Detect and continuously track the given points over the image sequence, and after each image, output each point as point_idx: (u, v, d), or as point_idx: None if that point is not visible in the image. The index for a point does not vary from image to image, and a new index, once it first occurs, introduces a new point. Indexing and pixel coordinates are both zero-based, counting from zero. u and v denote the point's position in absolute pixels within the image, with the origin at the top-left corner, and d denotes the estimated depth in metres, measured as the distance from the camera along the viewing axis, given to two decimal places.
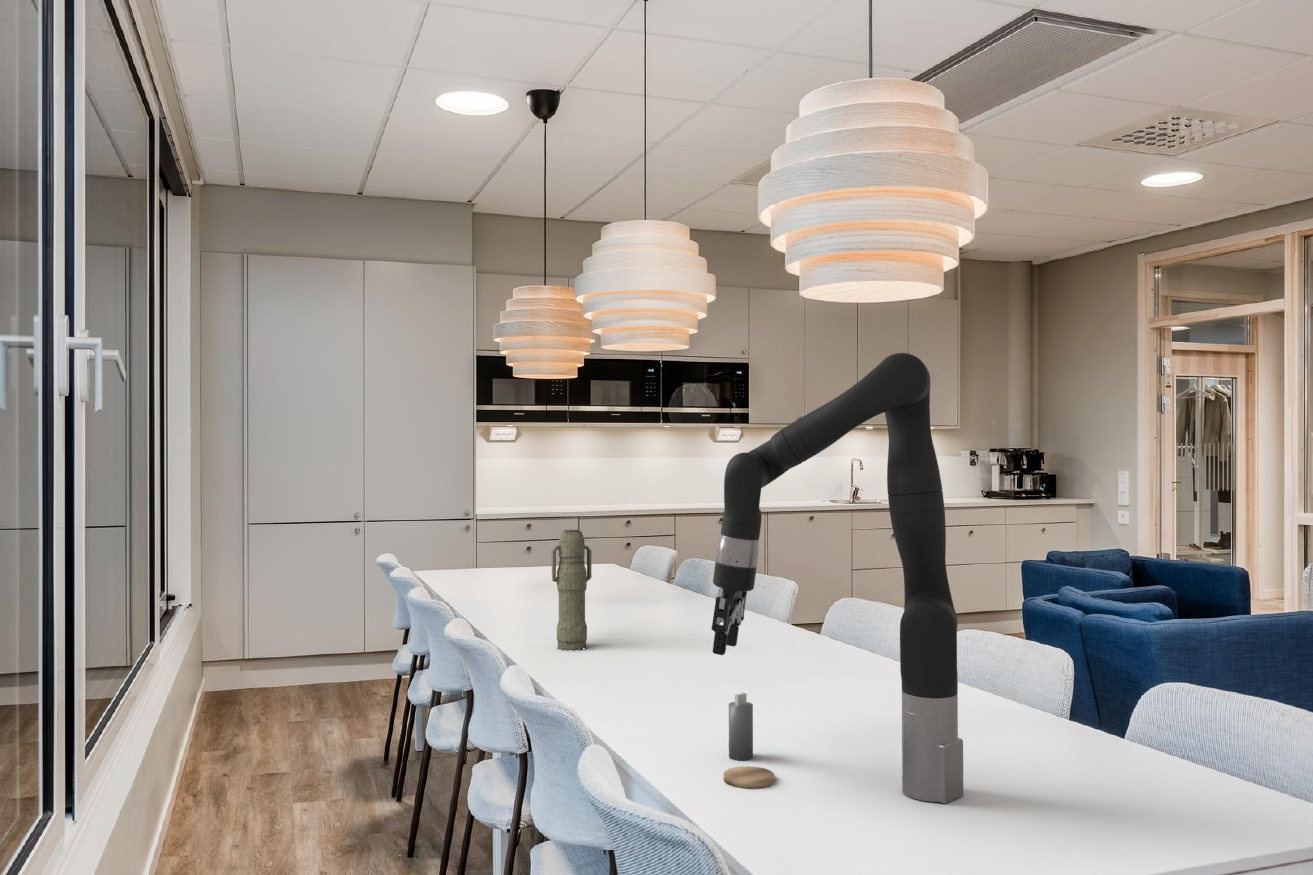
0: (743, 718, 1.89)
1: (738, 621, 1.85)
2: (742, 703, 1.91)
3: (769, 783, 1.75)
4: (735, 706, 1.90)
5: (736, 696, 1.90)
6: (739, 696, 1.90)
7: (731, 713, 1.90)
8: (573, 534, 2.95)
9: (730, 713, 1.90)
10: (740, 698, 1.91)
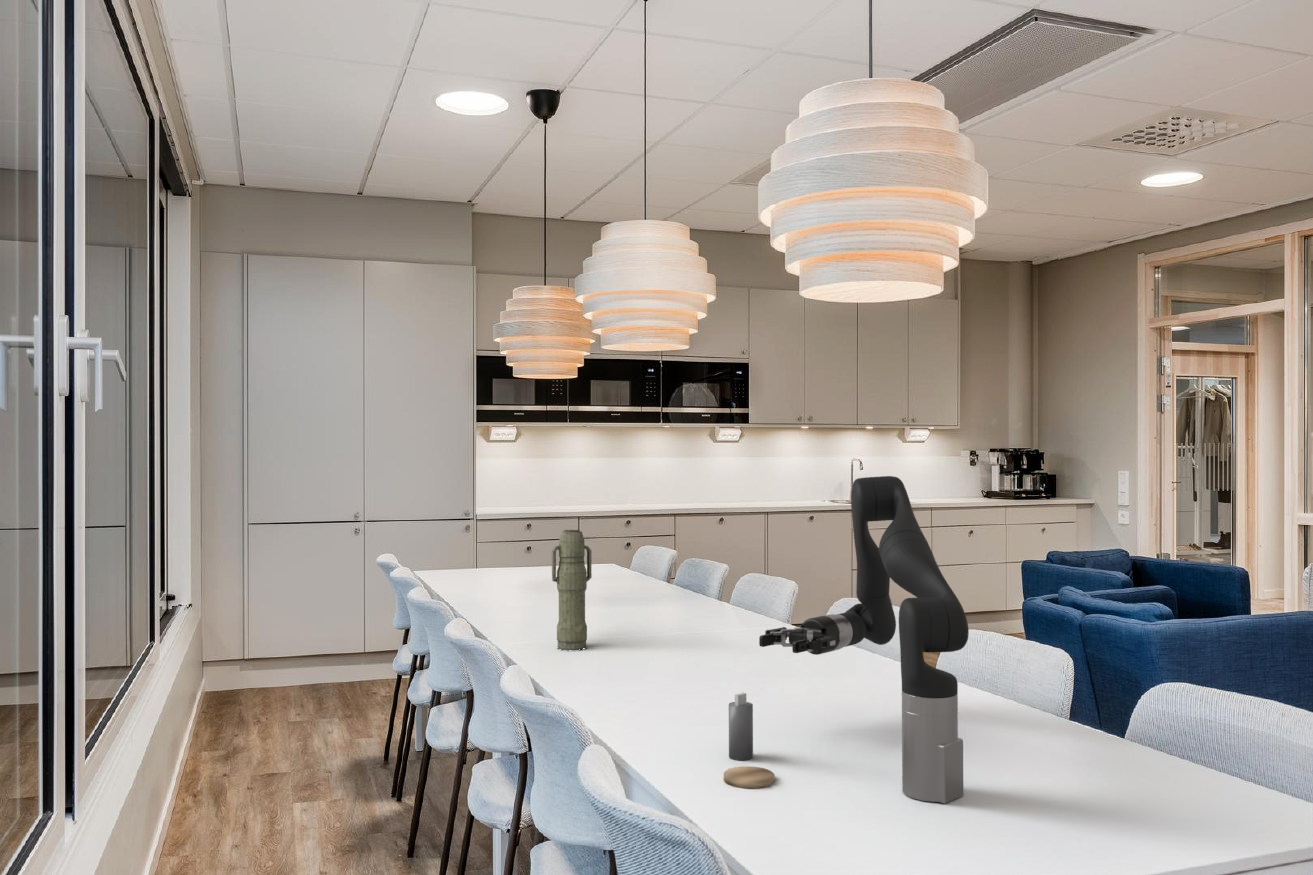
0: (743, 718, 1.89)
1: (807, 638, 1.99)
2: (742, 703, 1.91)
3: (769, 783, 1.75)
4: (735, 706, 1.90)
5: (736, 696, 1.90)
6: (739, 696, 1.90)
7: (731, 713, 1.90)
8: (573, 534, 2.95)
9: (730, 713, 1.90)
10: (740, 698, 1.91)
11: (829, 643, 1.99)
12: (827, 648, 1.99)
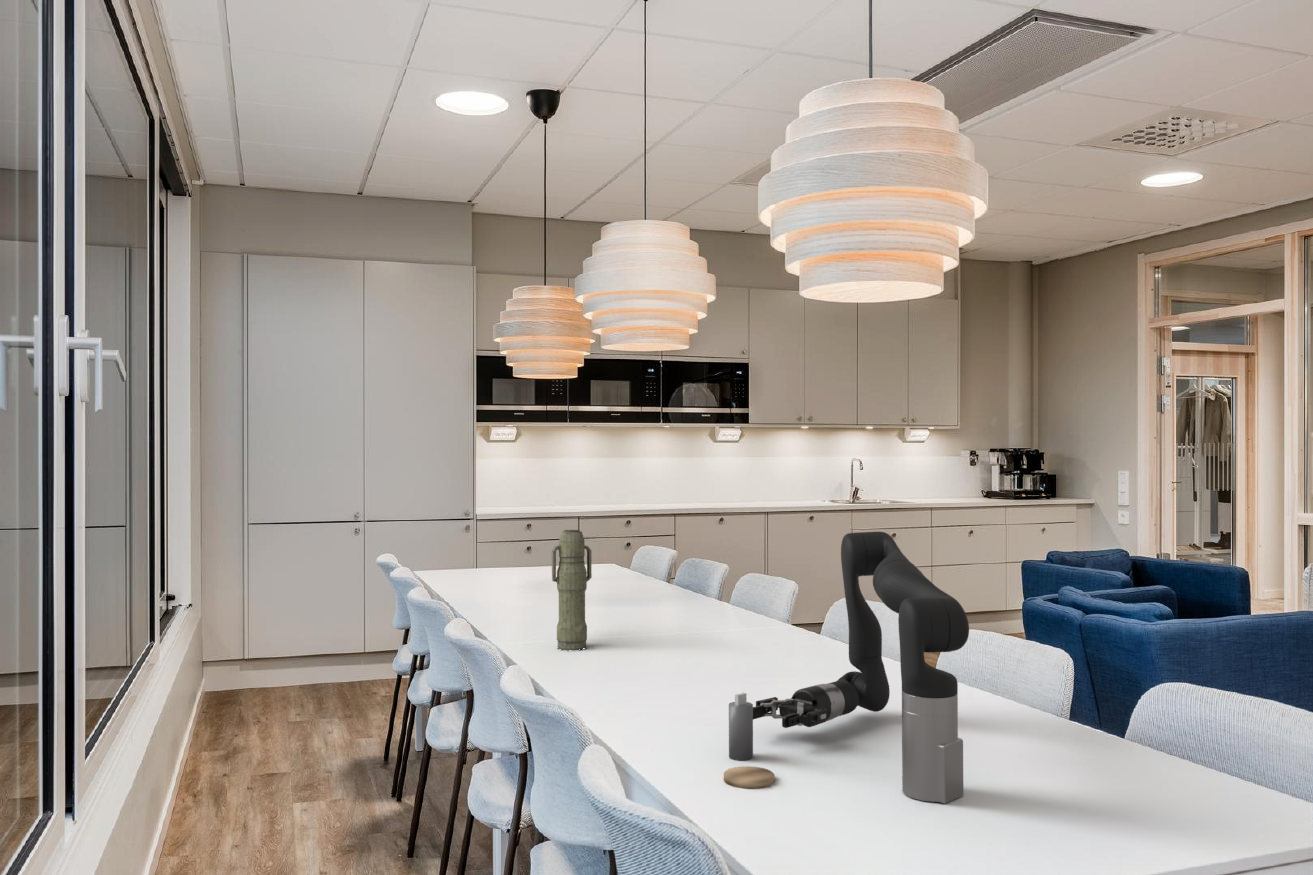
0: (743, 718, 1.89)
1: (797, 712, 1.97)
2: (742, 703, 1.91)
3: (769, 783, 1.75)
4: (735, 706, 1.90)
5: (736, 696, 1.90)
6: (739, 696, 1.90)
7: (731, 712, 1.90)
8: (573, 534, 2.95)
9: (730, 713, 1.90)
10: (740, 698, 1.91)
11: (820, 717, 1.97)
12: (817, 722, 1.96)
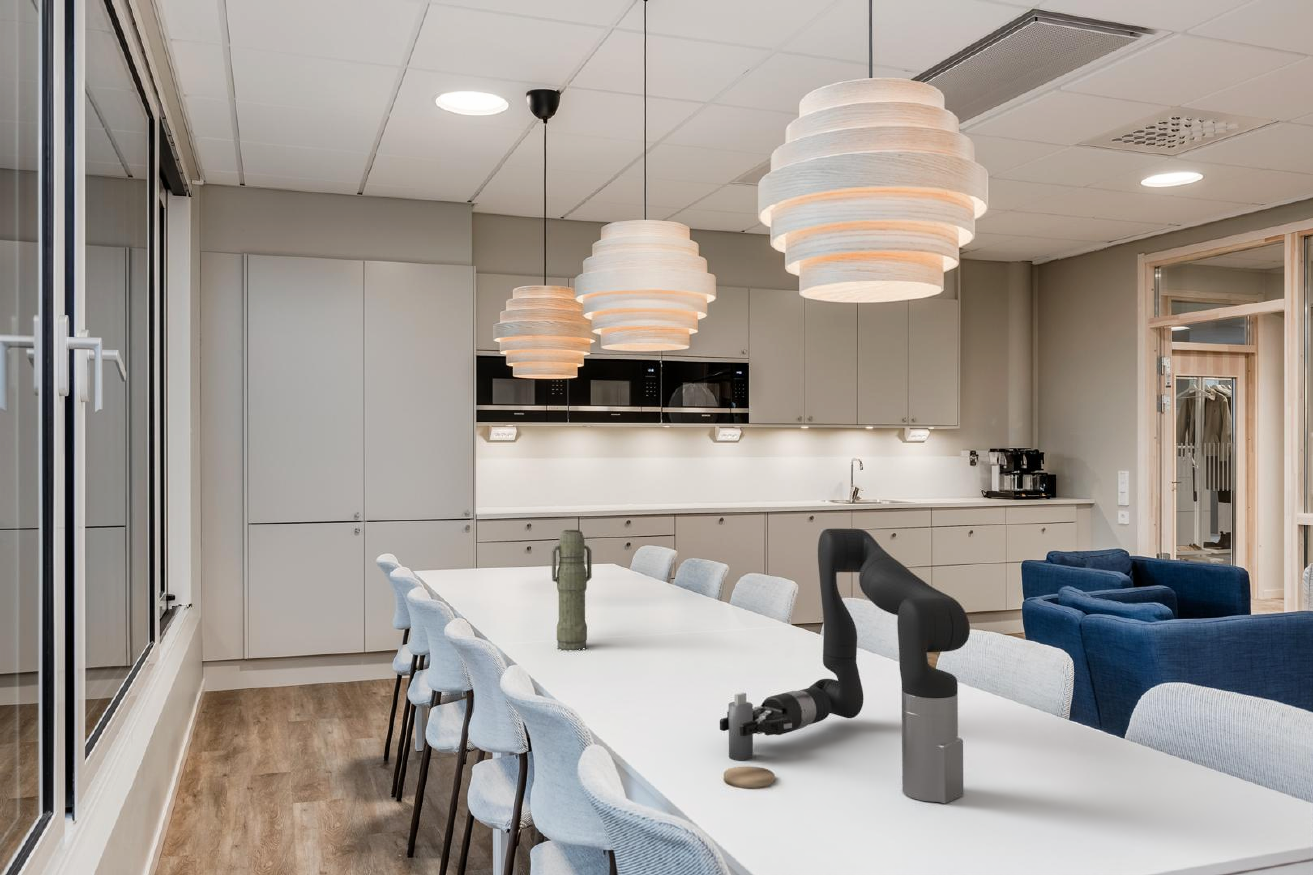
0: (742, 718, 1.89)
1: None
2: (742, 703, 1.91)
3: (769, 783, 1.75)
4: (735, 706, 1.90)
5: (736, 696, 1.90)
6: (739, 696, 1.90)
7: (731, 712, 1.90)
8: (573, 534, 2.95)
9: (730, 713, 1.90)
10: (740, 698, 1.91)
11: (782, 726, 1.90)
12: (778, 731, 1.90)
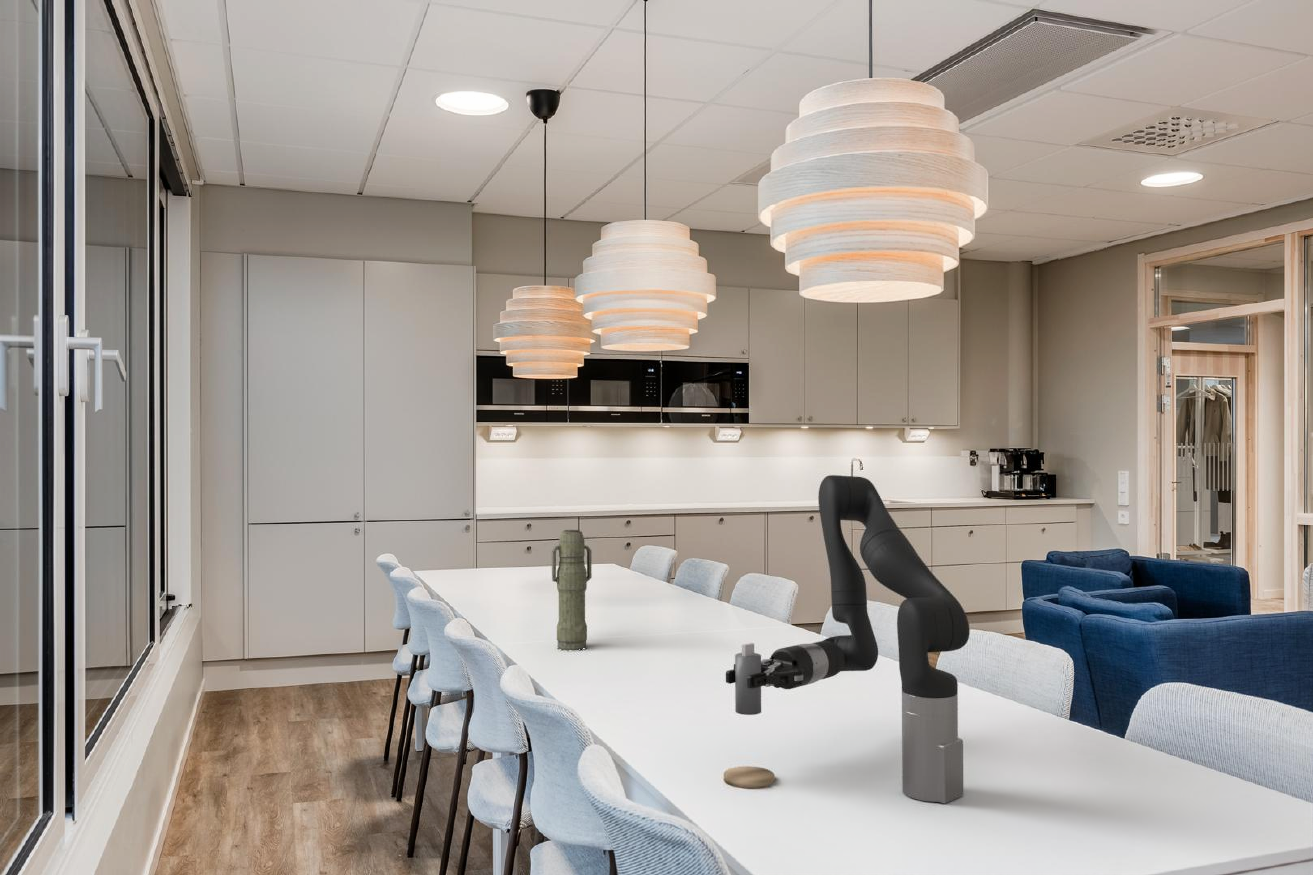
0: (750, 669, 1.76)
1: None
2: (750, 654, 1.78)
3: (769, 783, 1.75)
4: (742, 657, 1.77)
5: (743, 646, 1.78)
6: (746, 646, 1.78)
7: (738, 664, 1.77)
8: (573, 534, 2.95)
9: (737, 664, 1.78)
10: (747, 649, 1.78)
11: (792, 678, 1.77)
12: (789, 683, 1.77)
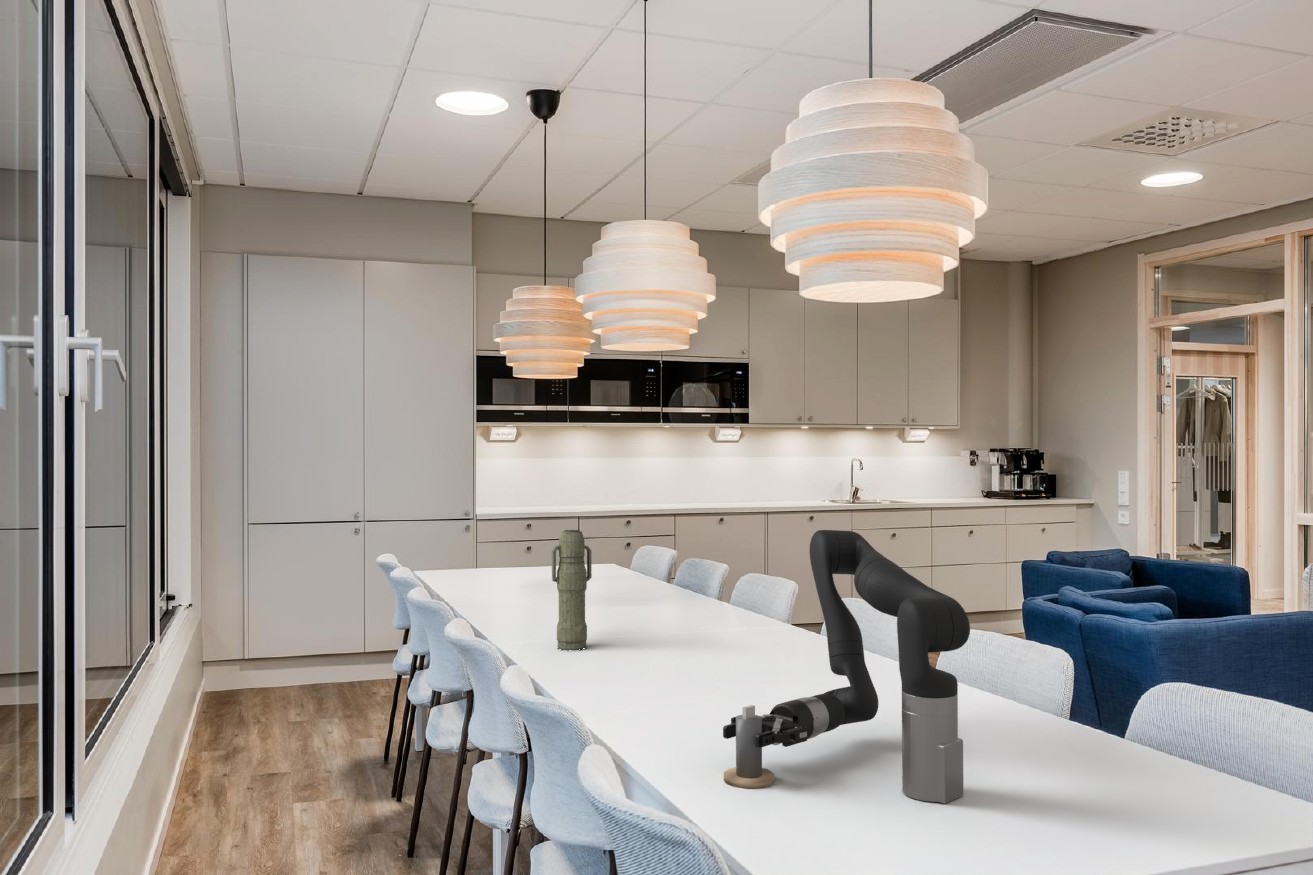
0: (751, 732, 1.76)
1: (773, 729, 1.77)
2: (750, 716, 1.78)
3: (769, 783, 1.75)
4: (743, 719, 1.76)
5: (744, 709, 1.77)
6: (747, 709, 1.77)
7: (739, 727, 1.76)
8: (573, 534, 2.95)
9: (737, 727, 1.77)
10: (748, 711, 1.77)
11: (798, 735, 1.77)
12: (796, 741, 1.76)
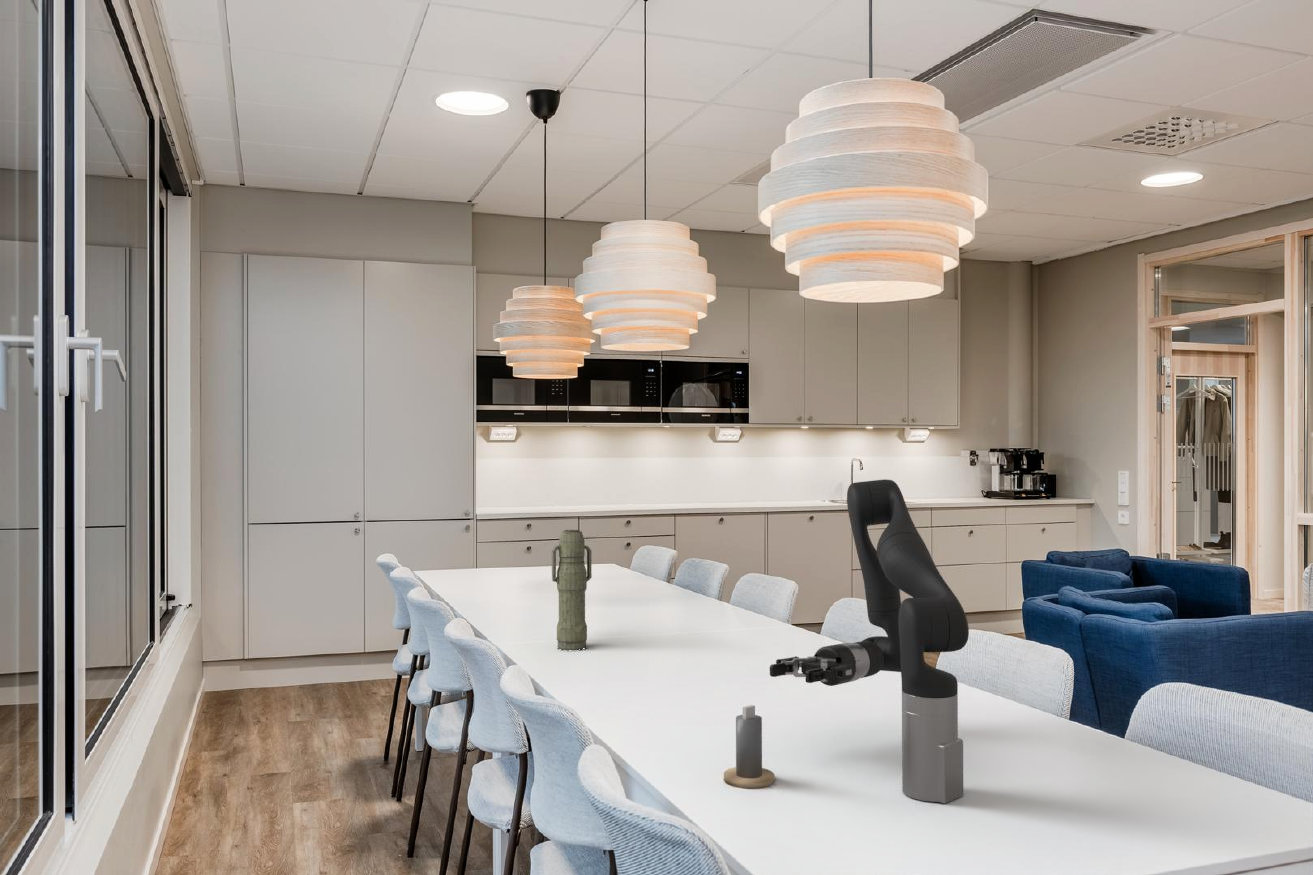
0: (751, 732, 1.76)
1: (821, 667, 1.86)
2: (750, 716, 1.78)
3: (769, 783, 1.75)
4: (743, 719, 1.76)
5: (744, 709, 1.77)
6: (747, 709, 1.77)
7: (739, 727, 1.76)
8: (573, 534, 2.95)
9: (737, 727, 1.77)
10: (748, 711, 1.77)
11: (845, 672, 1.85)
12: (843, 678, 1.85)
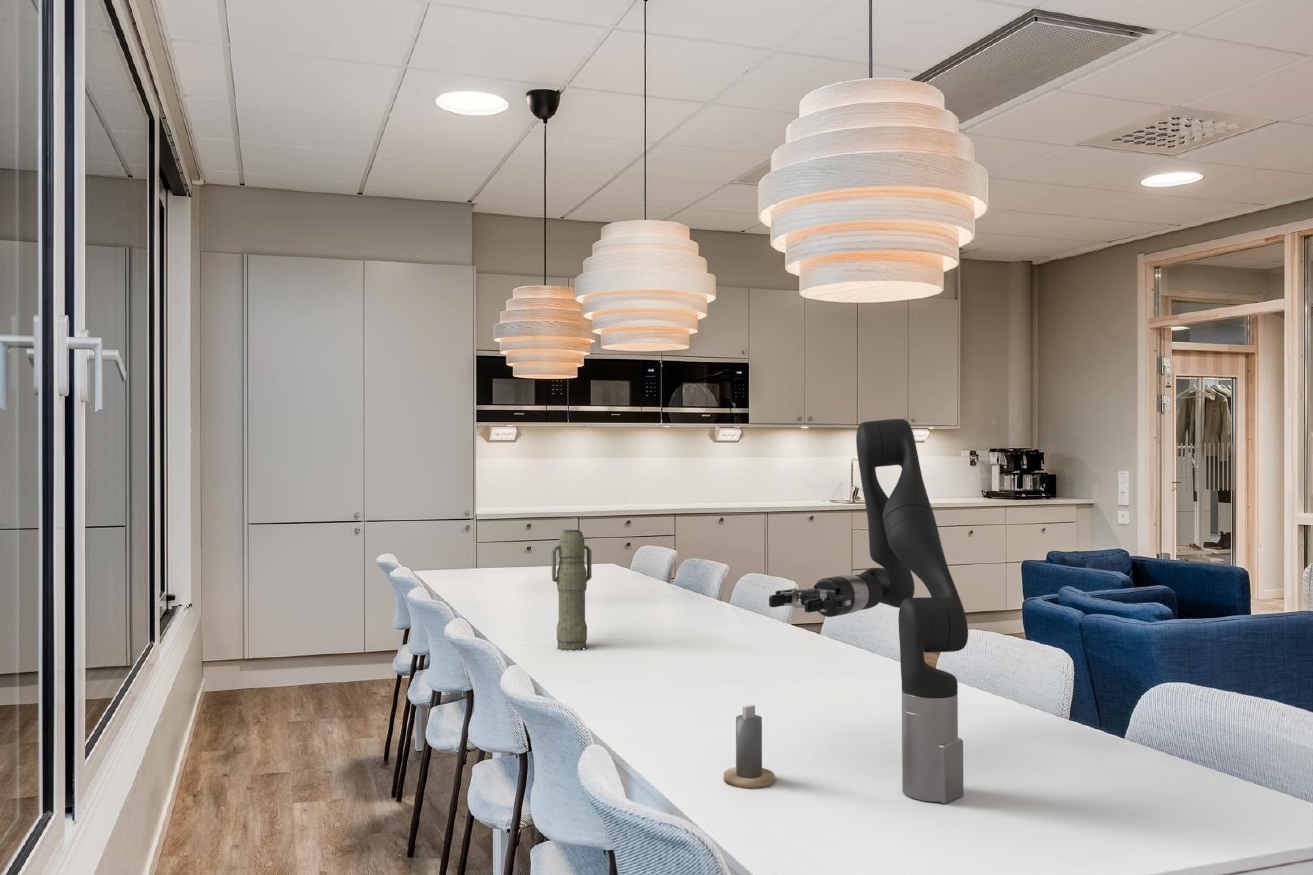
0: (751, 732, 1.76)
1: (820, 597, 1.86)
2: (750, 716, 1.78)
3: (769, 783, 1.75)
4: (743, 719, 1.76)
5: (744, 709, 1.77)
6: (747, 709, 1.77)
7: (739, 726, 1.76)
8: (573, 534, 2.95)
9: (737, 727, 1.77)
10: (748, 711, 1.77)
11: (844, 603, 1.86)
12: (842, 608, 1.85)
